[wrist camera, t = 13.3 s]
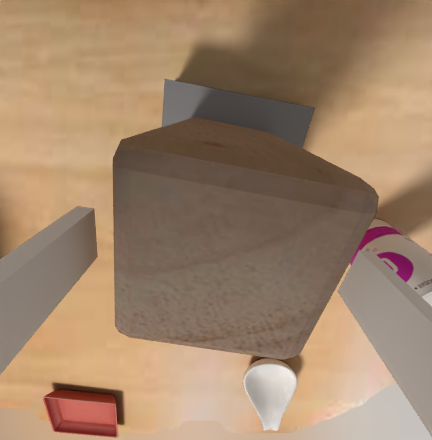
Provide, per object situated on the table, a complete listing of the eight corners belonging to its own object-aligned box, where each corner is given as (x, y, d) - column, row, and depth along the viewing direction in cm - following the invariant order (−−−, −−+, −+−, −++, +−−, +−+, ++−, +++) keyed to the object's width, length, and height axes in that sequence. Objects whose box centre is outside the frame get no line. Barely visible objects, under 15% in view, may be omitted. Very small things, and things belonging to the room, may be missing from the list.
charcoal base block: (165, 201, 36) (154, 218, 31) (174, 82, 29) (163, 76, 23) (266, 218, 37) (274, 237, 31) (300, 106, 30) (317, 106, 24)
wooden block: (187, 114, 25) (98, 132, 7) (276, 133, 26) (404, 191, 8) (177, 199, 29) (106, 343, 11) (253, 213, 30) (300, 371, 12)
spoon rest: (240, 350, 52) (243, 384, 45) (293, 348, 51) (304, 383, 44) (245, 407, 62) (247, 441, 55) (289, 406, 61) (297, 441, 55)
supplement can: (328, 249, 39) (383, 323, 26) (360, 209, 36) (444, 270, 22) (366, 266, 40) (439, 345, 27) (401, 228, 37) (504, 297, 23)
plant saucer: (120, 390, 60) (115, 405, 57) (122, 424, 68) (117, 439, 65) (50, 382, 59) (41, 396, 56) (60, 417, 67) (53, 432, 64)
